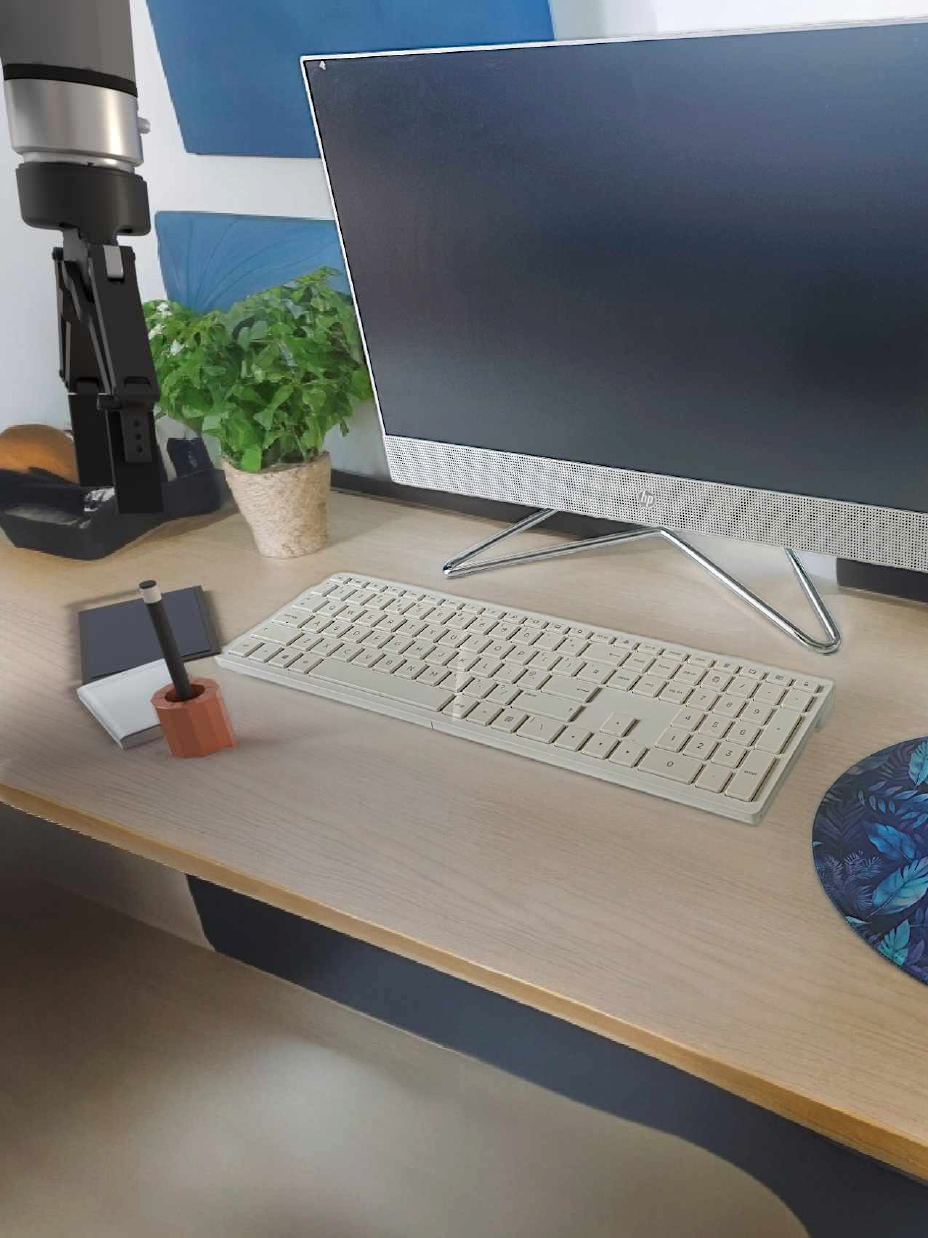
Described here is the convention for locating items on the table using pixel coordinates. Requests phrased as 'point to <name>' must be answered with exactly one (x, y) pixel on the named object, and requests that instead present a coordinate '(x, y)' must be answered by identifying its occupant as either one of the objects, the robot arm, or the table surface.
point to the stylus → (166, 640)
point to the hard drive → (127, 702)
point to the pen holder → (194, 720)
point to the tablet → (143, 634)
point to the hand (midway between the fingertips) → (119, 498)
